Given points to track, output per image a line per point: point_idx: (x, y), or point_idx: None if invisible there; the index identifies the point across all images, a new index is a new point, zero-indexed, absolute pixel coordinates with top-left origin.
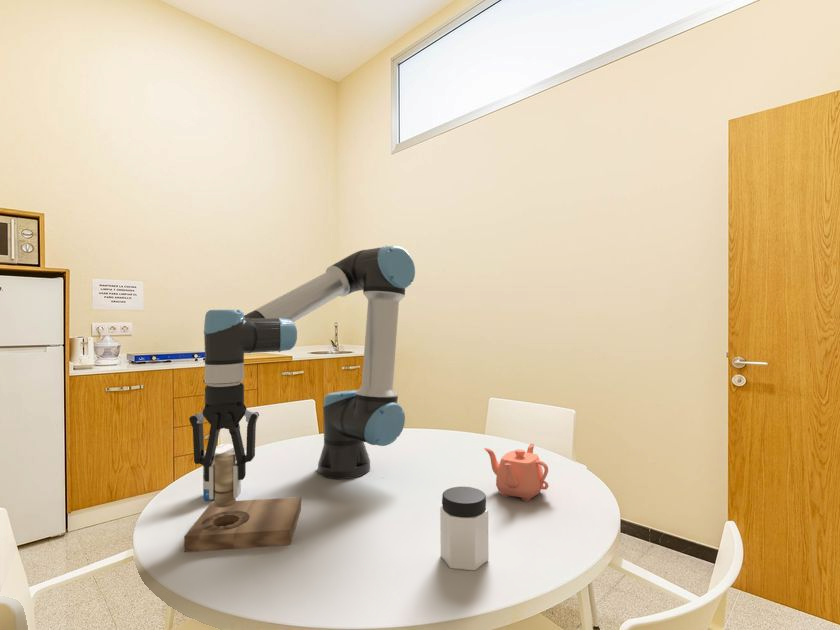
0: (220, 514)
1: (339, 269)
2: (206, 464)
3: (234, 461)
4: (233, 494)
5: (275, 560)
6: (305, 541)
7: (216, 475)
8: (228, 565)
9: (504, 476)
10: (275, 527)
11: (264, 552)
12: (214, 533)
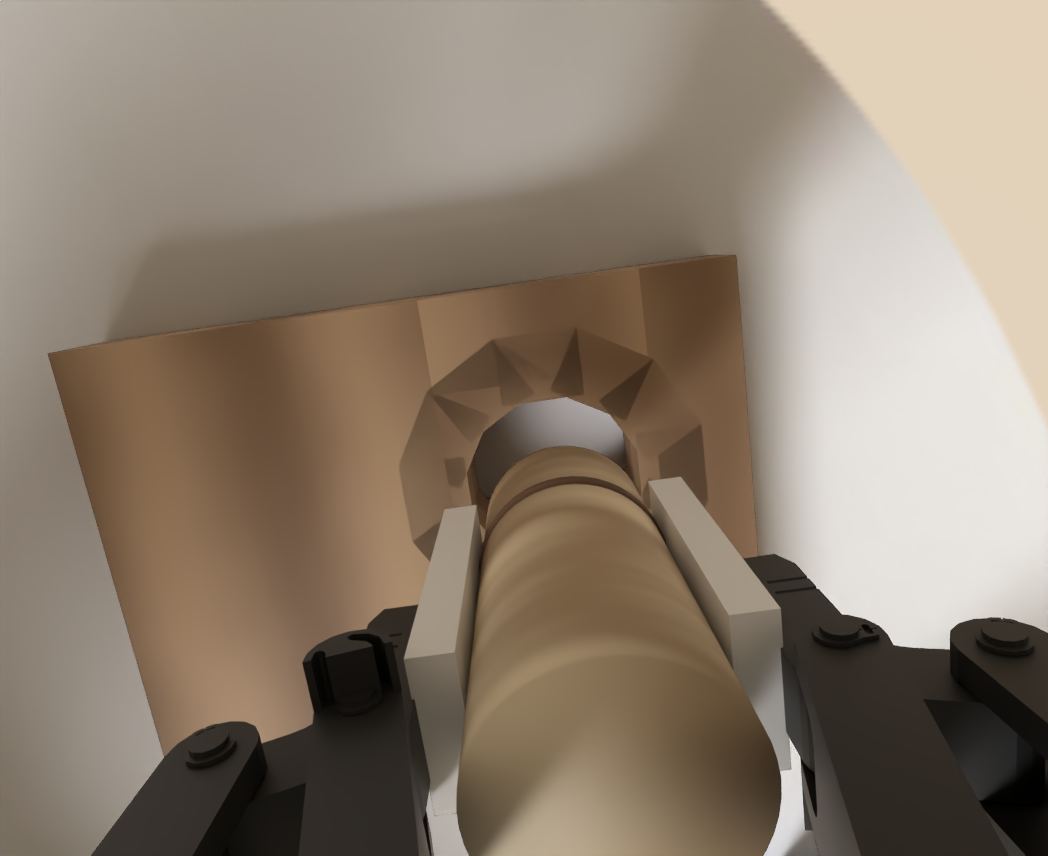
0: None
1: None
2: (833, 623)
3: (462, 737)
4: (474, 514)
5: (116, 158)
6: (29, 380)
7: (652, 558)
8: (374, 101)
9: None
10: (165, 383)
11: (223, 251)
12: (548, 298)
